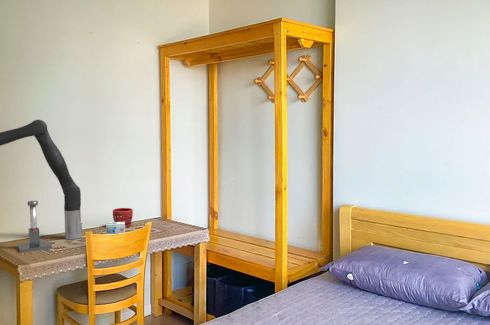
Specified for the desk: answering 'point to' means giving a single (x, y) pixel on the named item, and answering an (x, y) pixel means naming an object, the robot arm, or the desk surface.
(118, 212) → the plant pot
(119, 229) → the light bulb box
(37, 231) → the stand
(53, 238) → the desk surface
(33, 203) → the jack column
